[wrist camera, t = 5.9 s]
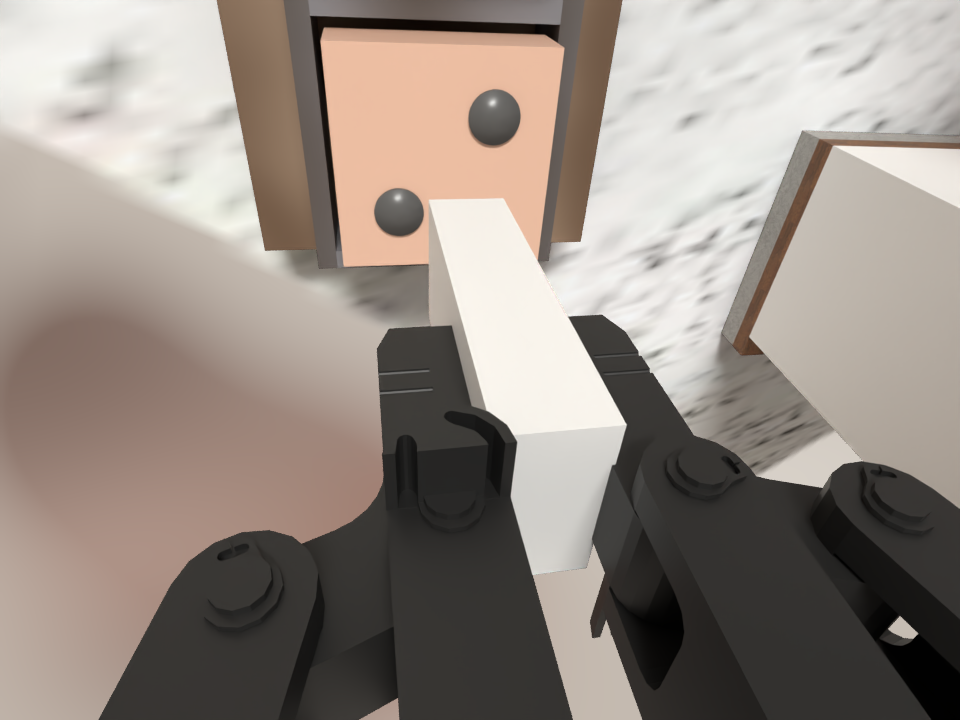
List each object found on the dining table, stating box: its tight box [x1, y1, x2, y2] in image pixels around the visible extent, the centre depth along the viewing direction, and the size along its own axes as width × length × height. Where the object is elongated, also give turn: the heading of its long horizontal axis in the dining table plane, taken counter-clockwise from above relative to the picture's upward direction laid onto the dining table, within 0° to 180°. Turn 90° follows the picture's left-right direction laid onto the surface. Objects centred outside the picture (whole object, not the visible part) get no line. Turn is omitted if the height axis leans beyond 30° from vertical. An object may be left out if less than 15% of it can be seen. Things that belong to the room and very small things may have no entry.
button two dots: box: [321, 27, 564, 267], centre depth 17 cm, size 6×6×2 cm
